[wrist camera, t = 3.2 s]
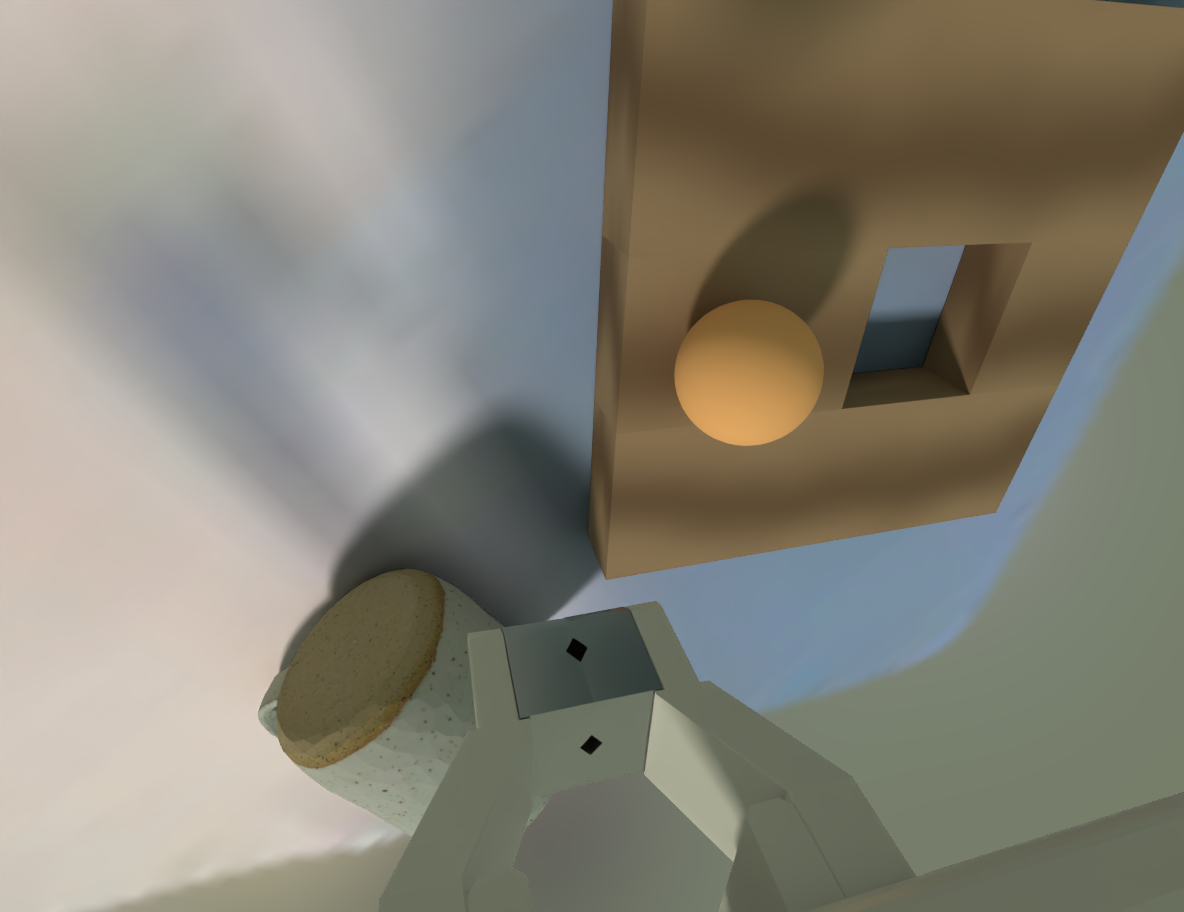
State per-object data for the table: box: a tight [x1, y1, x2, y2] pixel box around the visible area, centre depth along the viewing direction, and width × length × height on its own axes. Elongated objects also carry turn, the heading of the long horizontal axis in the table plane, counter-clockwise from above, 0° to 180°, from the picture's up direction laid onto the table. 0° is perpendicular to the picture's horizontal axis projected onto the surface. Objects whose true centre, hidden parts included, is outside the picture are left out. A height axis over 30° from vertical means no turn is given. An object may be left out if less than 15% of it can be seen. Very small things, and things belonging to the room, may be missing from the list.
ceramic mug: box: [258, 569, 553, 837], centre depth 22 cm, size 11×8×8 cm
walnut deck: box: [588, 0, 1184, 580], centre depth 21 cm, size 18×18×2 cm
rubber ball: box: [674, 300, 824, 446], centre depth 17 cm, size 4×4×4 cm
